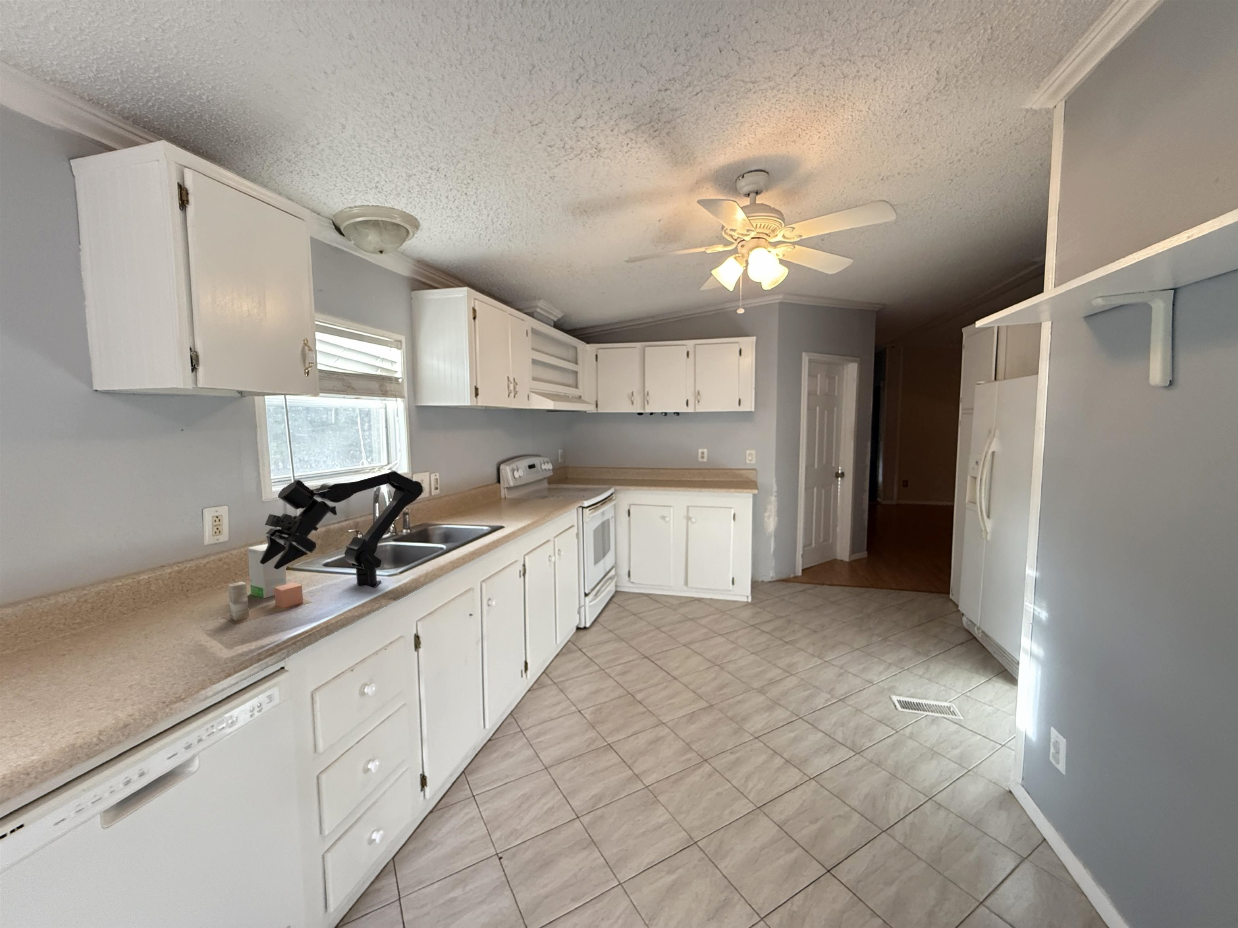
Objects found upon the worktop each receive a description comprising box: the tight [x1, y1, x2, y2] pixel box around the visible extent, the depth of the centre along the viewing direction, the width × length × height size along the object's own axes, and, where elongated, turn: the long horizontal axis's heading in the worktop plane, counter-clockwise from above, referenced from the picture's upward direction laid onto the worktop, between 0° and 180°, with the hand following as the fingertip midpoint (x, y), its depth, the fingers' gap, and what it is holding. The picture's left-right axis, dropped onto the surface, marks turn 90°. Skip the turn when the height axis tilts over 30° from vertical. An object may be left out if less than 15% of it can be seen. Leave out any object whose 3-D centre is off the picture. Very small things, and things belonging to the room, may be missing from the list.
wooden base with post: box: [222, 581, 313, 625], centre depth 133 cm, size 18×9×10 cm, turn 145°
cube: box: [274, 581, 304, 608], centre depth 137 cm, size 5×5×5 cm
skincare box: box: [247, 543, 287, 599], centre depth 146 cm, size 8×7×16 cm
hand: (268, 566), depth 133 cm, fingers open, 9 cm apart
